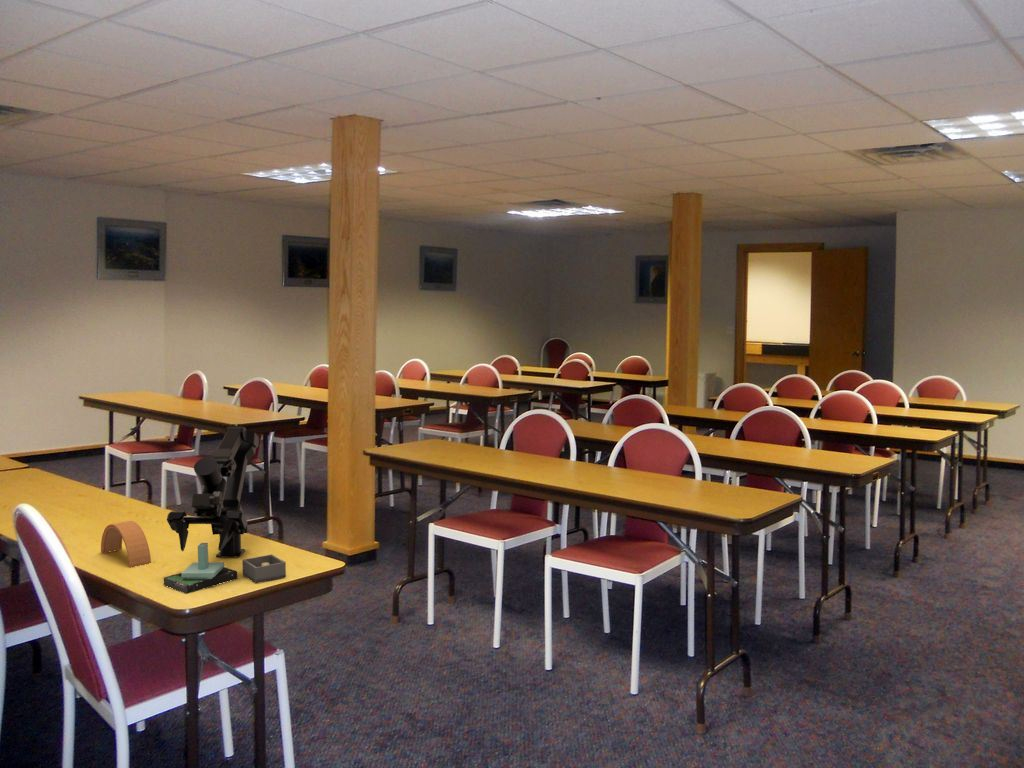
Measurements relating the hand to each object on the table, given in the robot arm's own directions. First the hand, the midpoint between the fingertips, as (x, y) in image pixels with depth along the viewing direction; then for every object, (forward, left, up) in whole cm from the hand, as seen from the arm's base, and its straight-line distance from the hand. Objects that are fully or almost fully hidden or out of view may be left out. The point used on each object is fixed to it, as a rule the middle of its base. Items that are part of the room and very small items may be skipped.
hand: (200, 550), depth 218 cm
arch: (-24, -28, -9) cm, 38 cm away
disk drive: (-2, -1, -10) cm, 10 cm away
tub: (-6, +14, -9) cm, 18 cm away
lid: (-2, 0, -7) cm, 7 cm away
